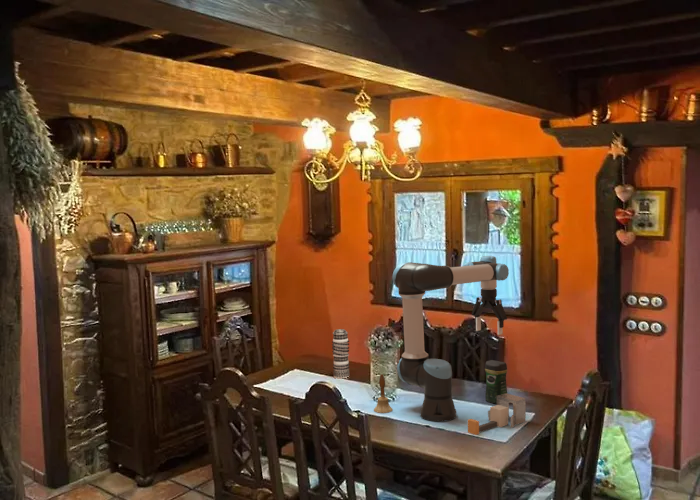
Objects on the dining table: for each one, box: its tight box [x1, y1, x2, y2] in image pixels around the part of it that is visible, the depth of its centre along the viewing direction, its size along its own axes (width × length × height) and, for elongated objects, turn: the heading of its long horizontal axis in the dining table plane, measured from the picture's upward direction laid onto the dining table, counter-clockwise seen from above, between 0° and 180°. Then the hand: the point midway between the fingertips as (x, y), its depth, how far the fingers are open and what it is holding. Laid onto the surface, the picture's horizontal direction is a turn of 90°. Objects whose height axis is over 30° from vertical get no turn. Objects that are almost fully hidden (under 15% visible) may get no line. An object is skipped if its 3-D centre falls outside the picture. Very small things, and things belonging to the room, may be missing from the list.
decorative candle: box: [331, 328, 351, 380], centre depth 351 cm, size 9×9×25 cm
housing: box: [487, 392, 527, 429], centre depth 274 cm, size 10×13×10 cm
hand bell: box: [373, 373, 393, 414], centre depth 293 cm, size 8×8×16 cm
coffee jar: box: [484, 359, 508, 405], centre depth 301 cm, size 10×8×19 cm
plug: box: [467, 404, 509, 436], centre depth 267 cm, size 19×5×7 cm, turn 128°
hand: (489, 332), depth 321 cm, fingers open, 13 cm apart
